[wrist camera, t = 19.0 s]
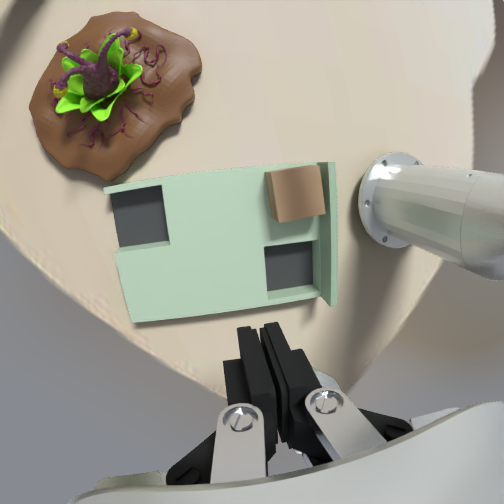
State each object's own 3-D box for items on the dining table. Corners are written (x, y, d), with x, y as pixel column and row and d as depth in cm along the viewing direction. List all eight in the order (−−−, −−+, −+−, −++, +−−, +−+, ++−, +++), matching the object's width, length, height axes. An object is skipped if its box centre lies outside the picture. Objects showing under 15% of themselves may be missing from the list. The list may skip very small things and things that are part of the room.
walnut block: (308, 165, 30) (319, 165, 27) (315, 209, 32) (325, 213, 29) (264, 172, 30) (270, 172, 27) (272, 217, 31) (279, 223, 28)
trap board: (315, 162, 33) (335, 162, 28) (319, 287, 38) (336, 305, 32) (110, 186, 30) (93, 190, 25) (135, 313, 34) (127, 335, 29)
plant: (17, 125, 25) (-35, 117, 14) (107, 4, 23) (82, -40, 12) (123, 204, 31) (88, 222, 20) (226, 70, 29) (237, 28, 18)
